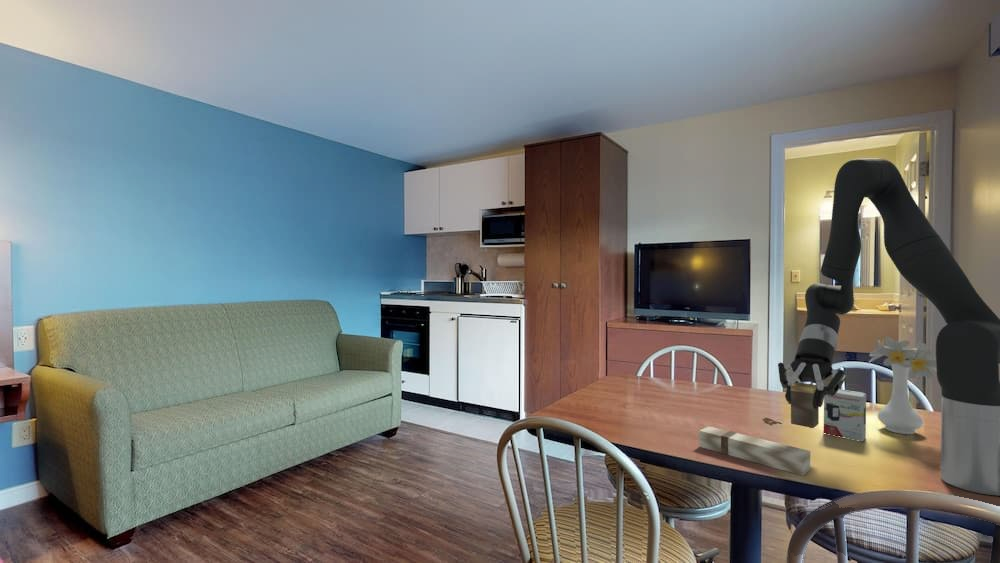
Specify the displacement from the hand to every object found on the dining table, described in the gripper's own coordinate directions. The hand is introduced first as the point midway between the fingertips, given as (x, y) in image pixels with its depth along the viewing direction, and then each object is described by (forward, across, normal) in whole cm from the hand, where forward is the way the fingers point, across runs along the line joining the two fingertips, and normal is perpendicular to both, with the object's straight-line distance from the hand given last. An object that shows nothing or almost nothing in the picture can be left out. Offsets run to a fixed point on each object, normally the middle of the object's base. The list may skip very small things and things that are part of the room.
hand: (802, 404), depth 104 cm
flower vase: (-21, +13, +39) cm, 46 cm away
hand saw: (-12, -22, +30) cm, 39 cm away
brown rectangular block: (+2, 0, +5) cm, 5 cm away
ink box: (-9, +3, +28) cm, 29 cm away
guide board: (+14, -8, +3) cm, 17 cm away
